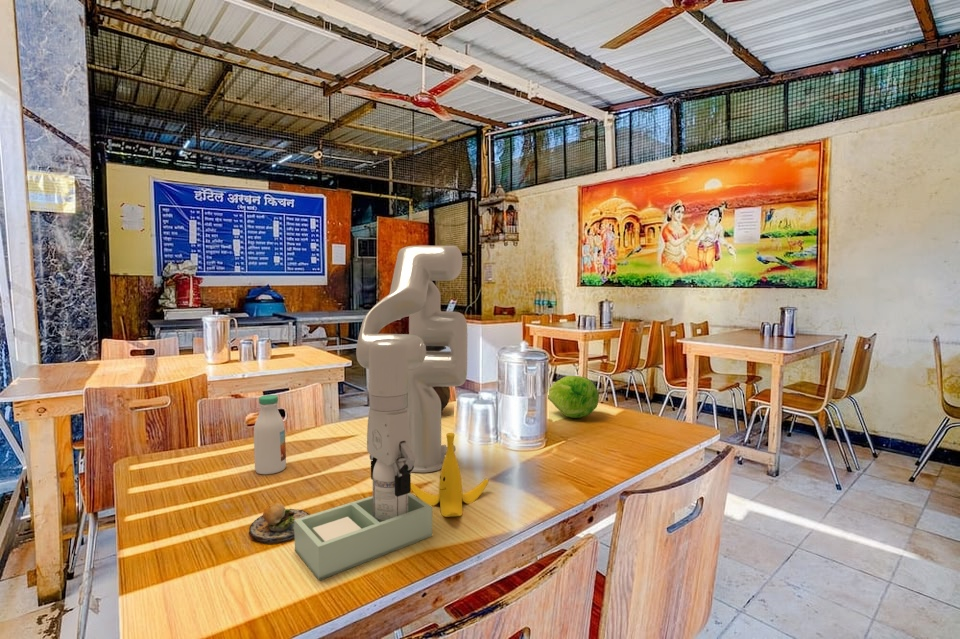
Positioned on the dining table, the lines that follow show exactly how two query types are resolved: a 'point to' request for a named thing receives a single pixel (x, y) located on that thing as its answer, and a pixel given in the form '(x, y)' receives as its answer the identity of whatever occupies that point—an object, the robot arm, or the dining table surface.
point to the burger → (275, 524)
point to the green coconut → (574, 396)
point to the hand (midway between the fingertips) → (390, 485)
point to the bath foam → (387, 493)
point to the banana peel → (450, 486)
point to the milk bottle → (269, 437)
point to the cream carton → (335, 529)
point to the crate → (359, 535)
